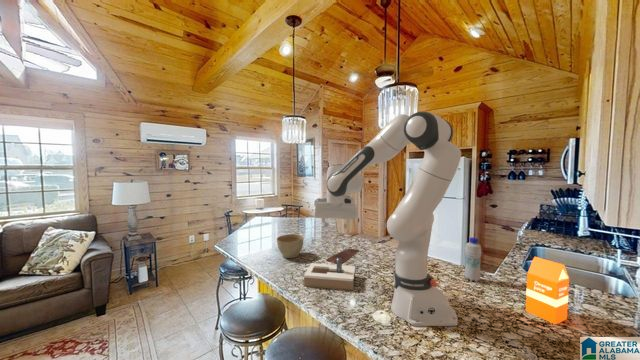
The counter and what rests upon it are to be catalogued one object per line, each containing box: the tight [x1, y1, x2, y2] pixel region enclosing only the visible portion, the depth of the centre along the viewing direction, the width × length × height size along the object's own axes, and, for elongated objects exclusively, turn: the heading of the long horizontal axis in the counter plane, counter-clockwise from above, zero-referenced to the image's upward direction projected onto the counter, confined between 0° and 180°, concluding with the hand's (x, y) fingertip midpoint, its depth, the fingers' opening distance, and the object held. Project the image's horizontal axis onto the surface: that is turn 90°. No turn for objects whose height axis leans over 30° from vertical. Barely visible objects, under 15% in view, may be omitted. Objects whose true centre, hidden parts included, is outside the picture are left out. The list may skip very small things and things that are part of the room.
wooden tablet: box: [325, 248, 360, 265], centre depth 150 cm, size 26×2×10 cm
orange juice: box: [525, 256, 570, 325], centre depth 89 cm, size 8×9×20 cm
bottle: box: [464, 237, 482, 283], centre depth 117 cm, size 7×7×20 cm
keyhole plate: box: [303, 262, 356, 291], centre depth 118 cm, size 22×14×5 cm, turn 78°
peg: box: [336, 258, 343, 273], centre depth 117 cm, size 5×5×11 cm
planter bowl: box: [276, 234, 305, 259], centre depth 151 cm, size 16×16×11 cm
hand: (335, 227), depth 120 cm, fingers open, 8 cm apart
